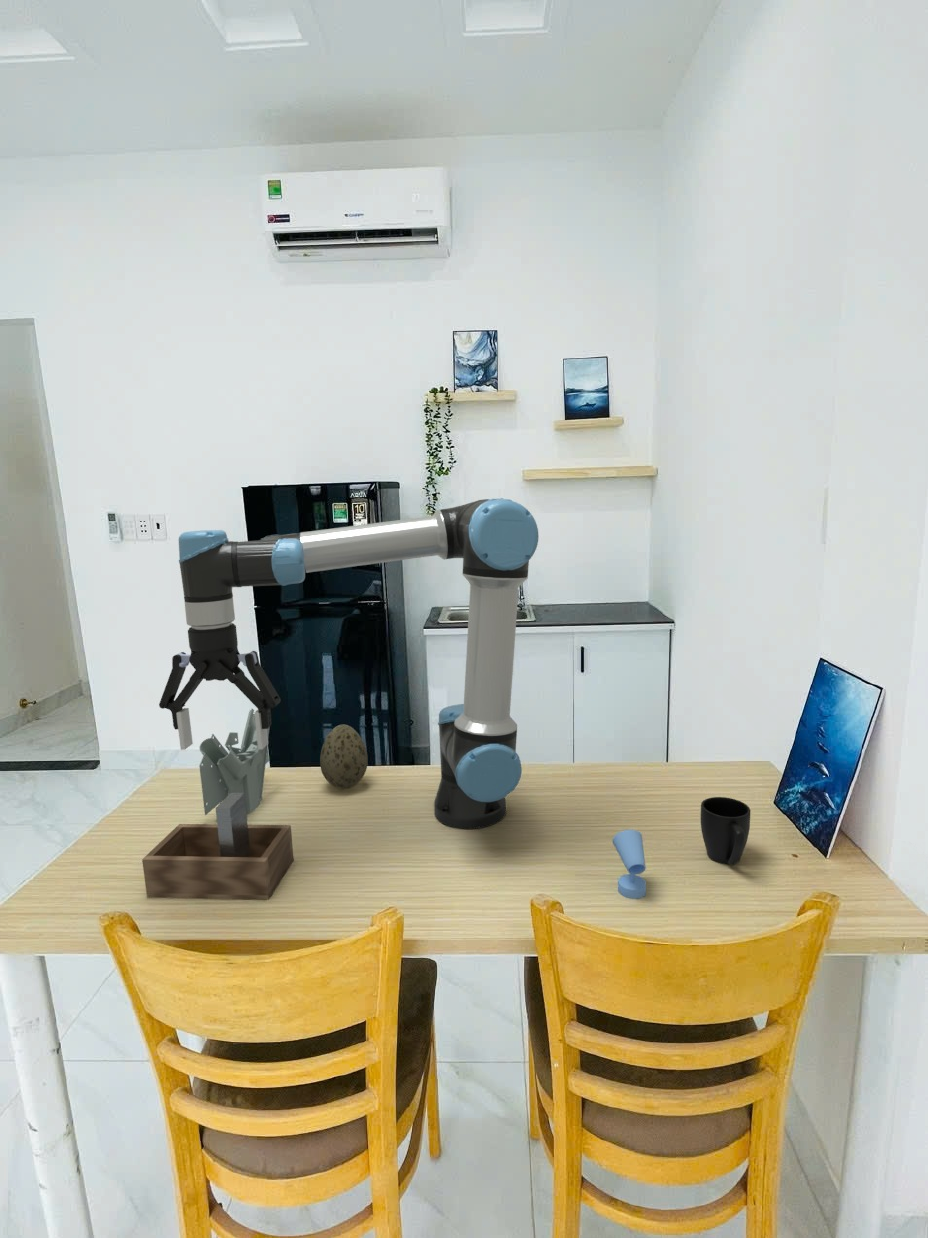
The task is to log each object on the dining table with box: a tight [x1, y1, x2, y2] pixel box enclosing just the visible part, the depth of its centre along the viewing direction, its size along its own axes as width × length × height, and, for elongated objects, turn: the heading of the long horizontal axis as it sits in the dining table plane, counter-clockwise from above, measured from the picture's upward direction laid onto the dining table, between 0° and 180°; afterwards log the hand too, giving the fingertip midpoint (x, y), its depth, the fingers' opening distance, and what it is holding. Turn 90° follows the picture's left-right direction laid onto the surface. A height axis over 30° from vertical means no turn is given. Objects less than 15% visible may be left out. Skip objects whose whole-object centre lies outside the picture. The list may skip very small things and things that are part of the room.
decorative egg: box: [319, 723, 369, 790], centre depth 153 cm, size 11×11×15 cm
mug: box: [700, 796, 752, 866], centre depth 117 cm, size 8×12×10 cm
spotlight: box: [612, 829, 647, 900], centre depth 110 cm, size 5×10×7 cm
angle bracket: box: [215, 793, 251, 857], centre depth 117 cm, size 8×6×14 cm
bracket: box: [198, 708, 271, 816], centre depth 144 cm, size 28×7×20 cm, turn 170°
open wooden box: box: [141, 823, 295, 901], centre depth 118 cm, size 21×12×7 cm, turn 85°
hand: (224, 746), depth 114 cm, fingers open, 13 cm apart
